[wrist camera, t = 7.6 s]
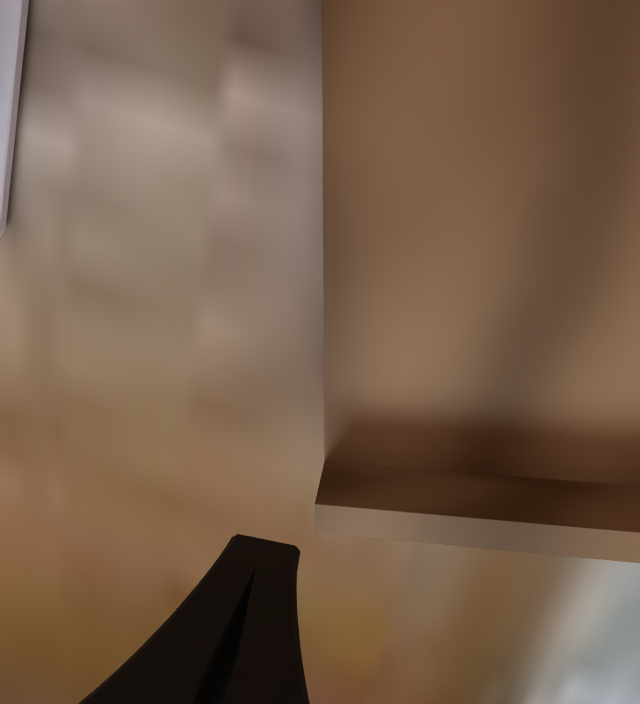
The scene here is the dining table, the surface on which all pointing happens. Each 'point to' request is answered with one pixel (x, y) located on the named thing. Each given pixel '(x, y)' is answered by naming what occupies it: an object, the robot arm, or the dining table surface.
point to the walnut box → (482, 274)
